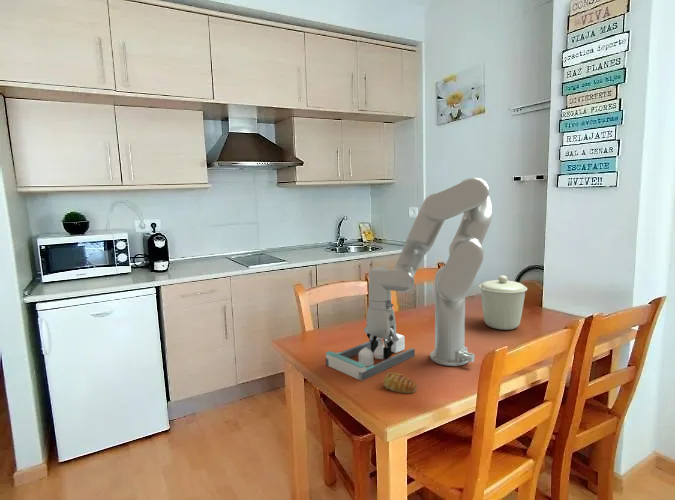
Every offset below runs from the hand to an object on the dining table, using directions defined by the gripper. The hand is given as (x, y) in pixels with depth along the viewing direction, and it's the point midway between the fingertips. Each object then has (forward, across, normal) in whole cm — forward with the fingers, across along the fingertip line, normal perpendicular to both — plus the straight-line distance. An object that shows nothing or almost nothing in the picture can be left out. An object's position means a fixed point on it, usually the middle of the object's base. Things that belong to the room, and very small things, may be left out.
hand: (380, 354), depth 141 cm
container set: (+1, 0, 0) cm, 1 cm away
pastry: (+1, -19, +13) cm, 23 cm away
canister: (+1, -15, -57) cm, 59 cm away
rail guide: (+1, 0, +5) cm, 5 cm away
